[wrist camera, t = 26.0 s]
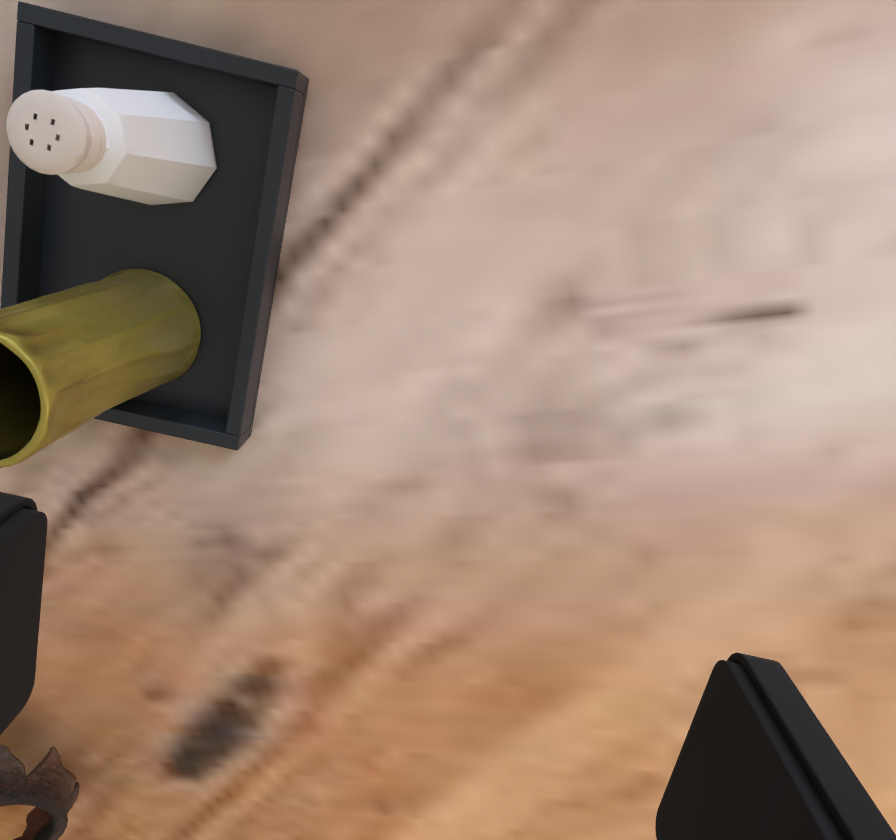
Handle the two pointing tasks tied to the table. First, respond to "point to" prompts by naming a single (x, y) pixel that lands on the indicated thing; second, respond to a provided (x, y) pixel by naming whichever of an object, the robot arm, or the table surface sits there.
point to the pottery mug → (39, 793)
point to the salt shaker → (115, 142)
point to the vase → (88, 354)
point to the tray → (166, 210)
